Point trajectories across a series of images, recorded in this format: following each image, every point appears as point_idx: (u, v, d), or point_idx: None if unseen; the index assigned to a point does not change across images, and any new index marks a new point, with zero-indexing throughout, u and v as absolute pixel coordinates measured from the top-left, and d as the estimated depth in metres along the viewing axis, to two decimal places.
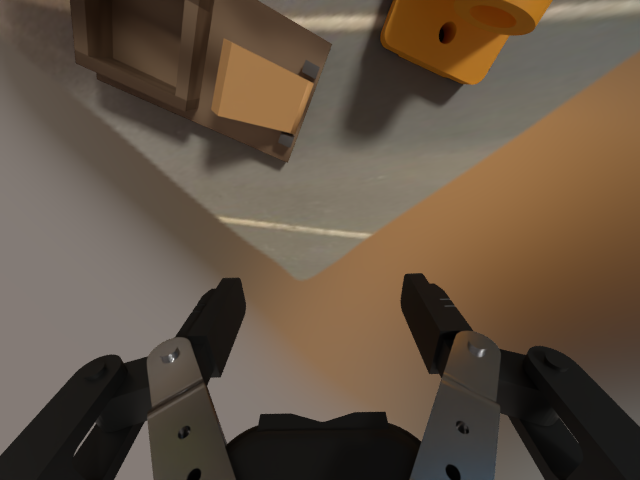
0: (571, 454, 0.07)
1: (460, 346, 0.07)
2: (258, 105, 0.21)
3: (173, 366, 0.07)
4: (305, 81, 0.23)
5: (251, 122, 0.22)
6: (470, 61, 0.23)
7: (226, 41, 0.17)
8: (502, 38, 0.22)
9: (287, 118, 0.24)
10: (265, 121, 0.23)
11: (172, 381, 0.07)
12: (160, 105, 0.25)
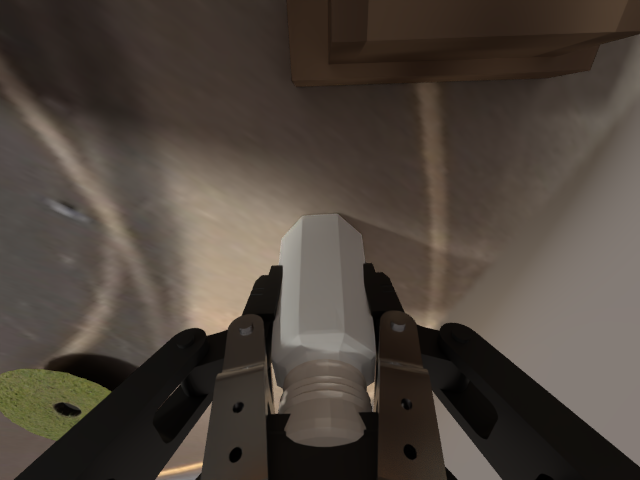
0: (484, 409, 0.08)
1: (383, 323, 0.08)
2: None
3: (245, 340, 0.08)
4: None
5: None
6: None
7: None
8: None
9: None
10: None
11: (242, 353, 0.07)
12: None
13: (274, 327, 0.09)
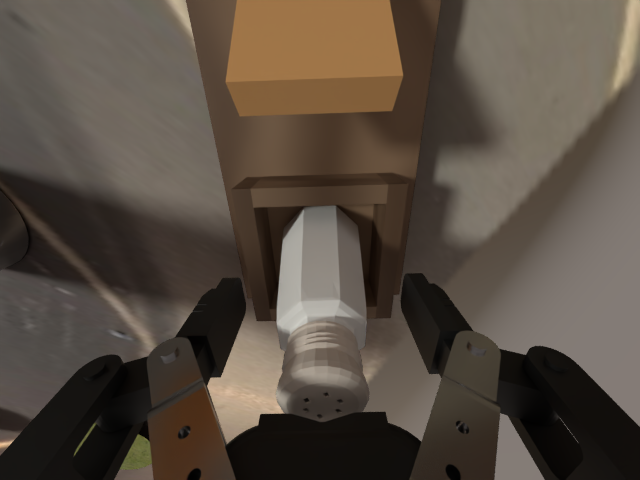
0: (571, 454, 0.07)
1: (460, 346, 0.07)
2: (338, 2, 0.08)
3: (173, 366, 0.07)
4: None
5: (387, 4, 0.08)
6: None
7: (238, 105, 0.08)
8: None
9: None
10: None
11: (172, 381, 0.07)
12: (406, 225, 0.16)
13: (278, 299, 0.10)
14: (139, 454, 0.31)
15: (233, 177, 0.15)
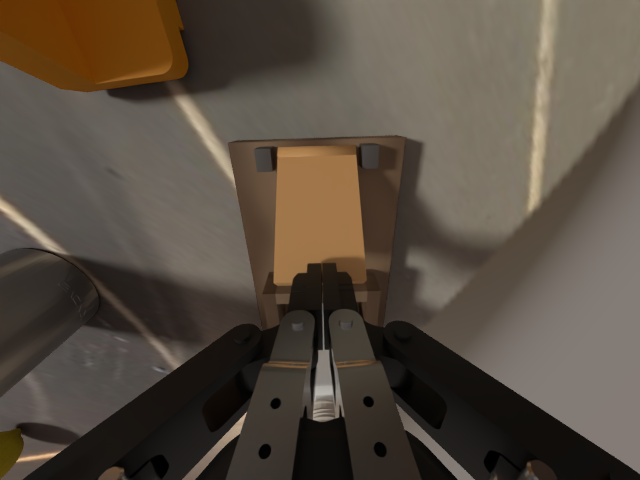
0: (432, 397, 0.08)
1: (331, 321, 0.08)
2: (333, 223, 0.14)
3: (295, 336, 0.08)
4: (279, 162, 0.15)
5: (360, 225, 0.14)
6: None
7: (278, 284, 0.14)
8: None
9: (336, 169, 0.15)
10: (351, 203, 0.14)
11: (289, 348, 0.07)
12: (384, 301, 0.23)
13: None
14: None
15: (259, 272, 0.21)
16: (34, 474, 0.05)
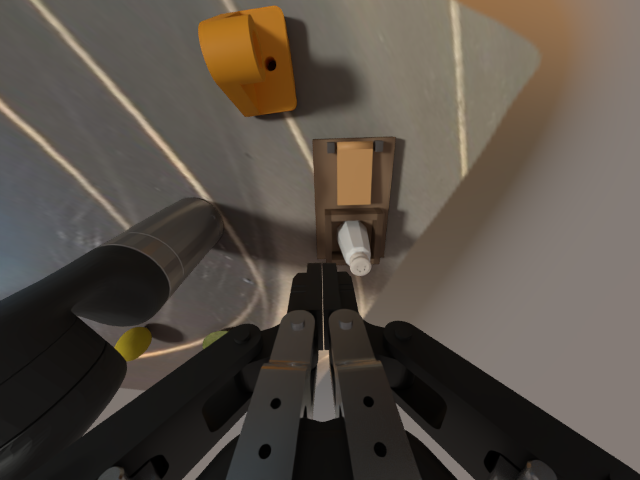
0: (431, 397, 0.08)
1: (331, 321, 0.08)
2: (360, 182, 0.36)
3: (295, 336, 0.08)
4: (338, 152, 0.34)
5: (370, 183, 0.36)
6: (272, 29, 0.29)
7: (338, 204, 0.38)
8: (250, 14, 0.28)
9: (363, 156, 0.34)
10: (368, 173, 0.35)
11: (289, 348, 0.07)
12: (385, 227, 0.41)
13: (344, 249, 0.35)
14: None
15: (319, 209, 0.40)
16: (34, 474, 0.05)
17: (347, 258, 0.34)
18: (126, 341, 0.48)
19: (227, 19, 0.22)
